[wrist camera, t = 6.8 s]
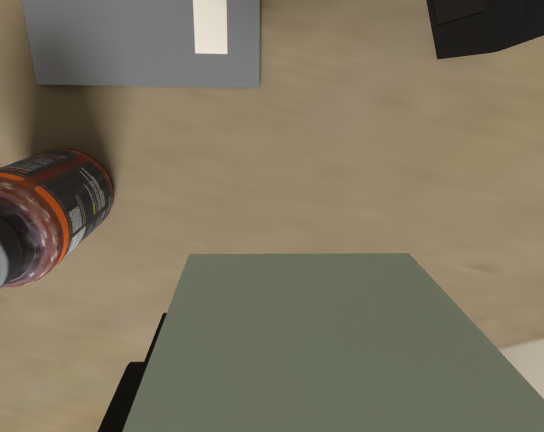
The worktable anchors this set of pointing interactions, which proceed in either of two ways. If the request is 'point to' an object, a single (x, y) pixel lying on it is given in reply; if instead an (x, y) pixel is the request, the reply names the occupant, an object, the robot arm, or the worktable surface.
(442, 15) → the digital camera
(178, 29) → the board
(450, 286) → the worktable surface
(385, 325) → the sage block
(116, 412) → the robot arm
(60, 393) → the worktable surface
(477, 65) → the worktable surface
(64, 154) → the supplement bottle
